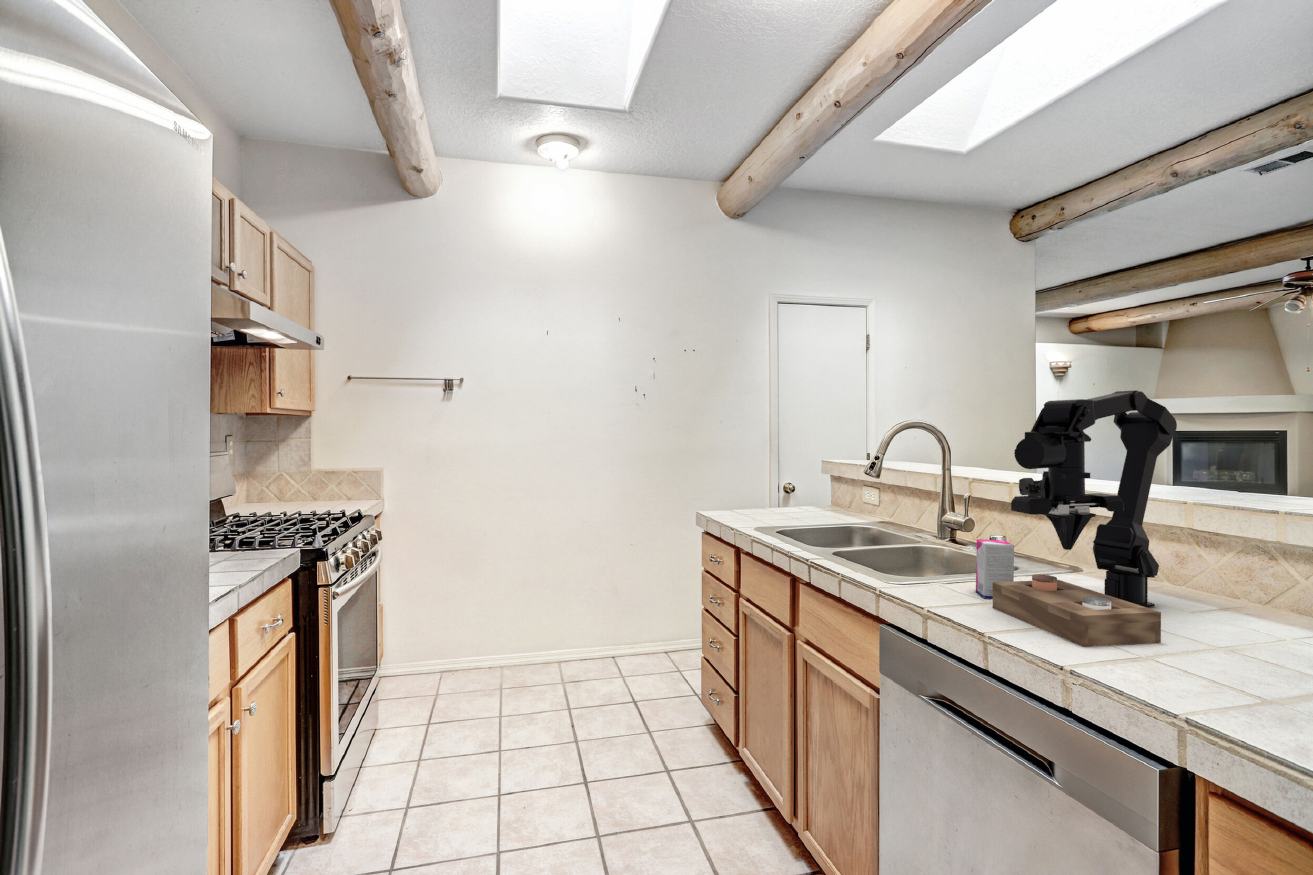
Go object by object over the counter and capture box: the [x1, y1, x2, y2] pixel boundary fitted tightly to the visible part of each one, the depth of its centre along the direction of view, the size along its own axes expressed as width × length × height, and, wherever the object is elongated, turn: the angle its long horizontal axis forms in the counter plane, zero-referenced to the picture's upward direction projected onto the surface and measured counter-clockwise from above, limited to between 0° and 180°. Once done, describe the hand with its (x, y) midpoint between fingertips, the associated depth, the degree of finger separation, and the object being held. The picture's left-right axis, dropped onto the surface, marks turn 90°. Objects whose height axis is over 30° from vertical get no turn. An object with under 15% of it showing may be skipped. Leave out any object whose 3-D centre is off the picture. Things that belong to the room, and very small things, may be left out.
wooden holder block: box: [992, 579, 1162, 648], centre depth 111 cm, size 14×22×5 cm, turn 7°
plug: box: [1082, 596, 1111, 610], centre depth 105 cm, size 4×4×6 cm
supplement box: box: [975, 538, 1015, 600], centre depth 130 cm, size 6×6×12 cm
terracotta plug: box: [1031, 573, 1058, 591], centre depth 117 cm, size 4×4×6 cm
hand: (1067, 549), depth 116 cm, fingers closed
